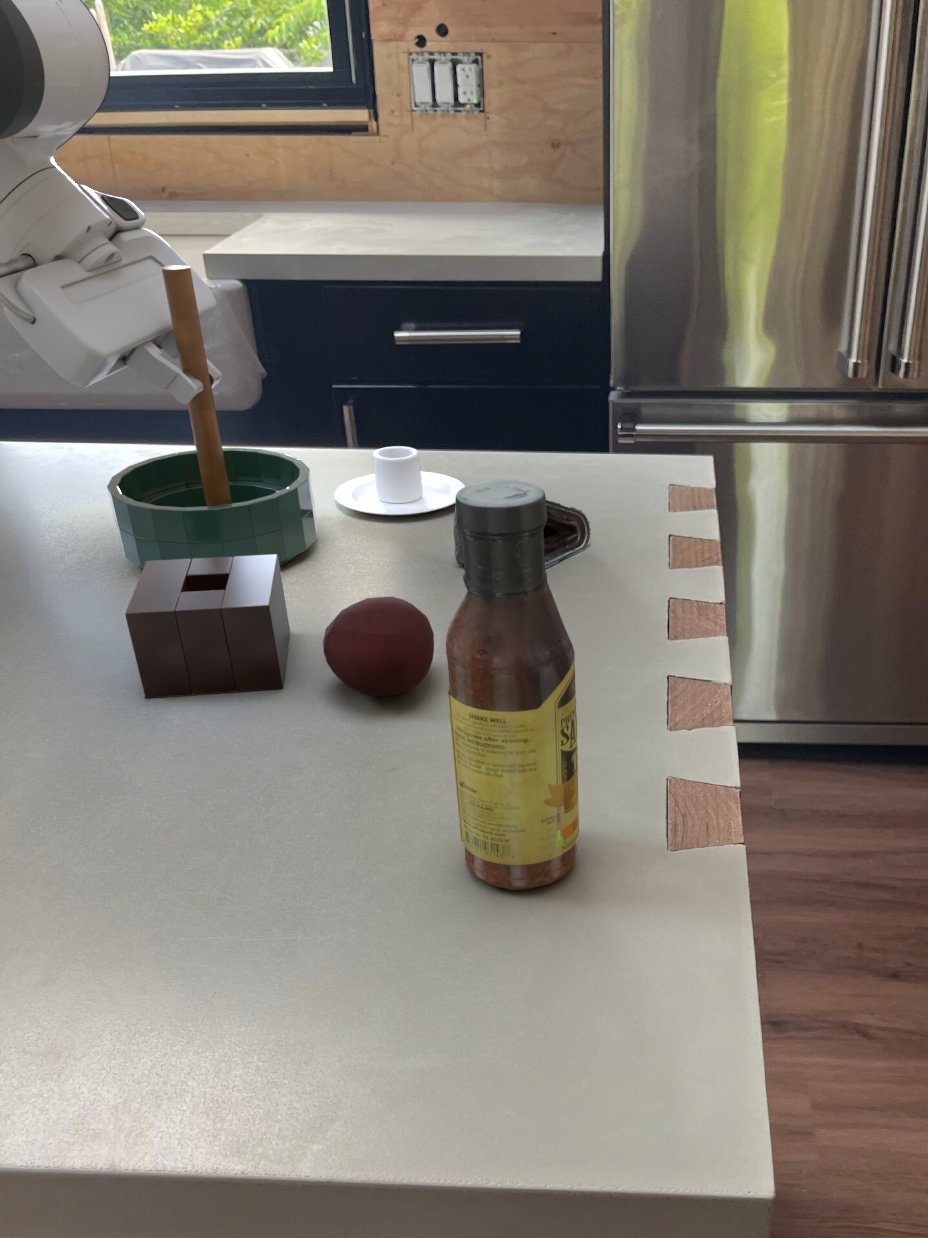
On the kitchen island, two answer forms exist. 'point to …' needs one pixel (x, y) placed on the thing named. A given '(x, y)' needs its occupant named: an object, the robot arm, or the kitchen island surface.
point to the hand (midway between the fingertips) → (205, 391)
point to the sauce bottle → (511, 694)
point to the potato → (380, 646)
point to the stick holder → (209, 625)
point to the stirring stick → (196, 363)
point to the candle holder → (398, 486)
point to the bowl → (214, 508)
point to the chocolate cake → (551, 534)
